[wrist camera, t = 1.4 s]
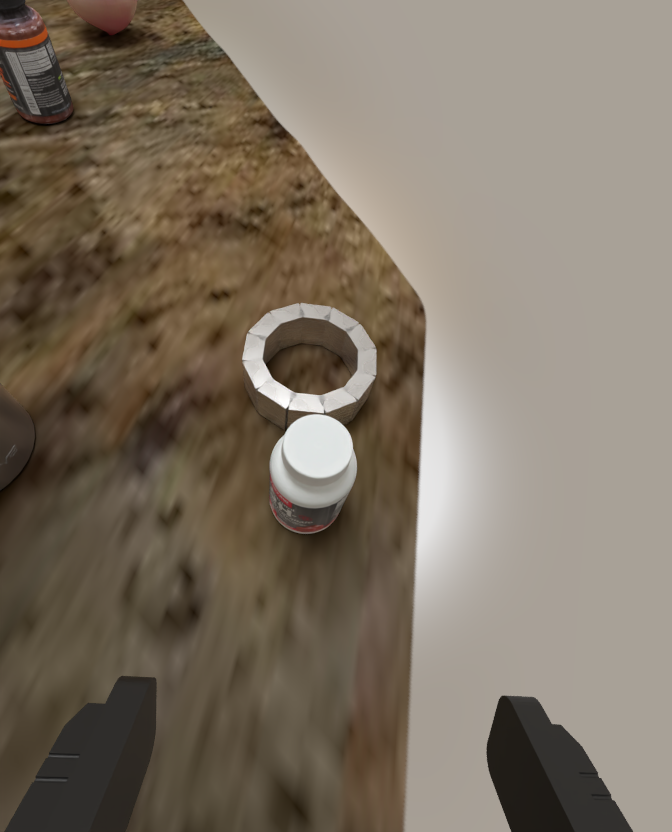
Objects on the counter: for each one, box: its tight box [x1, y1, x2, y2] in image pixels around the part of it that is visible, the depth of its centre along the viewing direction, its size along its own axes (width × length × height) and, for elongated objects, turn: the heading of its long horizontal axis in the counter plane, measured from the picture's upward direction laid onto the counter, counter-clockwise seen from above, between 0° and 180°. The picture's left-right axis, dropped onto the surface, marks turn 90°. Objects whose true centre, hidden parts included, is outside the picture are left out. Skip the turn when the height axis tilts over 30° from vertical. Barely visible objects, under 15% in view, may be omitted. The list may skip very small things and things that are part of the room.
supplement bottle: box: [0, 0, 73, 124], centre depth 47 cm, size 6×6×11 cm
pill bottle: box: [269, 414, 357, 534], centre depth 29 cm, size 5×5×10 cm
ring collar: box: [242, 303, 376, 430], centre depth 37 cm, size 10×10×4 cm
